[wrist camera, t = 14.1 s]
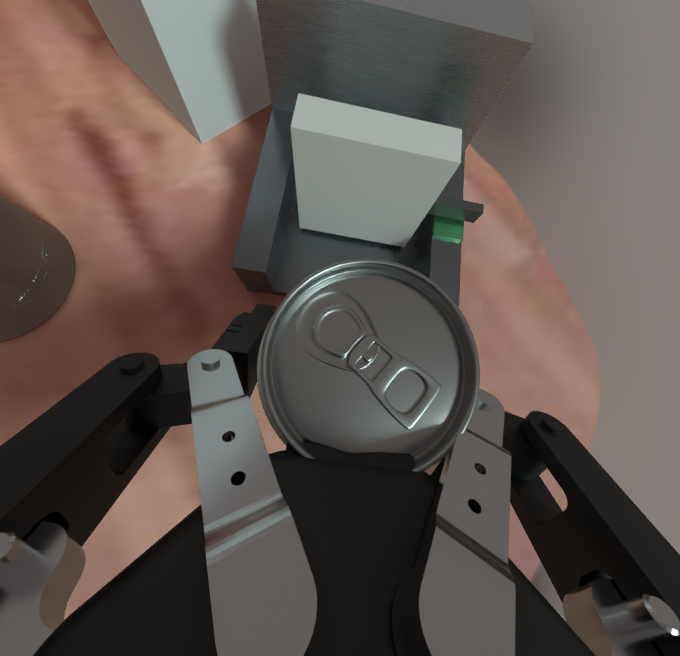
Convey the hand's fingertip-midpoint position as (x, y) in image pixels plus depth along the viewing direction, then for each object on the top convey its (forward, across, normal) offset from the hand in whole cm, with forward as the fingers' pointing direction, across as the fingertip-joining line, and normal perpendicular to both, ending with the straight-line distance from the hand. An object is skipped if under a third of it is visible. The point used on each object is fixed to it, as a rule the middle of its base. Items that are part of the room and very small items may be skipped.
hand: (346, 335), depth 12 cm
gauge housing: (+12, 0, -3) cm, 13 cm away
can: (+4, 0, +6) cm, 7 cm away
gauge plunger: (+10, -2, -3) cm, 11 cm away
